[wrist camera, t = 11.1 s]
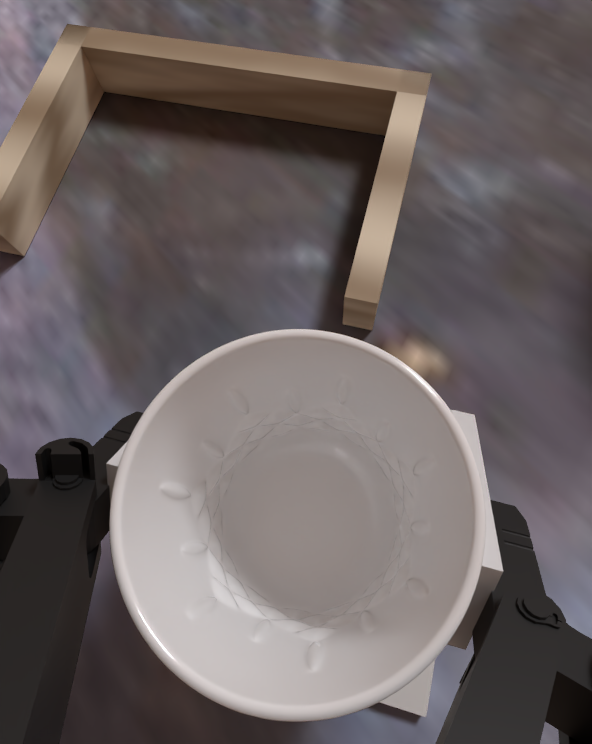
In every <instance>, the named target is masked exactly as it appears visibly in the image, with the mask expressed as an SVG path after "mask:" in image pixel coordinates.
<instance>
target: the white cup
mask: <svg viewBox="0 0 592 744" xmlns="http://www.w3.org/2000/svg"><path fill="white" fill-rule="evenodd" d="M109 533H110V547H111V555H112V562H113V567H114V572H115V576H116V580H117V583H118V586H119V590H120V592H121V595H122V598H123V601H124V603H125V606H126V608H127V610H128V612H129V614H130V616H131V618H132V620H133V622H134V624H135V626H136V627H137V629H138V631H139V632H140V634H141V636H142V637H143V639H144V640H145V642H146V643H147V644H148V646H149V647H150V648H151V650H152V651H153V652H154V653H155V655H156V656H157V657H158V658H159V659H160V660H161V661H162V663H163V664H164V665H165V666H166V667H167V668H168V669H169V670H170V671H171V672H172V673H174V674H175V675H176V676H177V677H178V678H179V679H180V680H182V681H183V682H184V683H185V684H187V685H188V686H189V687H191V688H192V689H194V690H195V691H197V692H198V693H200V694H201V695H203V696H205V697H206V698H208V699H210V700H212V701H214V702H216V703H218V704H220V705H222V706H224V707H227V708H229V709H232V710H234V711H237V712H240V713H243V714H246V715H250V716H254V717H258V718H263V719H269V720H276V721H288V722H306V721H318V720H325V719H331V718H336V717H340V716H344V715H348V714H351V713H354V712H357V711H360V710H363V709H365V708H367V707H370V706H372V705H374V704H376V703H378V702H380V701H382V700H384V699H386V698H388V697H389V696H391V695H393V694H394V693H396V692H397V691H399V690H400V689H402V688H403V687H405V686H406V685H407V684H409V683H410V682H411V681H413V680H414V679H415V678H416V677H417V676H418V675H420V674H421V673H422V672H423V671H424V670H425V669H426V668H427V667H428V666H429V665H430V664H431V663H432V662H433V661H434V660H435V659H436V657H437V656H438V655H439V654H440V653H441V651H442V650H443V649H444V648H445V646H446V645H447V644H448V642H449V641H450V639H451V638H452V636H453V635H454V633H455V632H456V630H457V628H458V627H459V625H460V623H461V621H462V619H463V618H464V616H465V613H466V611H467V609H468V607H469V605H470V602H471V600H472V597H473V595H474V592H475V589H476V586H477V583H478V579H479V575H480V571H481V567H482V562H483V556H484V548H485V536H486V514H485V502H484V494H483V488H482V483H481V479H480V475H479V471H478V467H477V464H476V461H475V458H474V455H473V452H472V450H471V447H470V445H469V443H468V441H467V438H466V436H465V434H464V432H463V430H462V428H461V427H460V425H459V423H458V421H457V420H456V418H455V417H454V415H453V413H452V412H451V410H450V409H449V408H448V406H447V405H446V404H445V402H444V401H443V400H442V398H441V397H440V396H439V395H438V394H437V393H436V391H435V390H434V389H433V388H432V387H431V386H430V385H429V384H428V383H427V382H426V381H425V380H424V379H423V378H422V377H421V376H420V375H418V374H417V373H416V372H415V371H414V370H412V369H411V368H410V367H409V366H407V365H406V364H404V363H403V362H402V361H400V360H399V359H397V358H396V357H394V356H392V355H391V354H389V353H387V352H385V351H383V350H382V349H380V348H378V347H375V346H373V345H371V344H369V343H366V342H364V341H361V340H358V339H355V338H352V337H349V336H345V335H342V334H337V333H333V332H327V331H320V330H309V329H287V330H276V331H269V332H264V333H259V334H255V335H251V336H247V337H244V338H241V339H238V340H235V341H233V342H230V343H228V344H225V345H223V346H221V347H219V348H217V349H215V350H213V351H211V352H209V353H207V354H206V355H204V356H202V357H201V358H199V359H198V360H196V361H195V362H193V363H192V364H190V365H189V366H188V367H186V368H185V369H184V370H183V371H181V372H180V373H179V374H178V375H177V376H175V377H174V378H173V379H172V380H171V381H170V382H169V383H168V384H167V385H166V386H165V387H164V388H163V389H162V390H161V391H160V393H159V394H158V395H157V396H156V397H155V398H154V400H153V401H152V402H151V403H150V405H149V406H148V408H147V409H146V410H145V412H144V413H143V415H142V416H141V418H140V419H139V421H138V423H137V425H136V426H135V428H134V430H133V432H132V434H131V436H130V438H129V440H128V442H127V444H126V447H125V449H124V452H123V454H122V457H121V460H120V463H119V466H118V469H117V473H116V477H115V481H114V485H113V491H112V497H111V505H110V519H109Z"/></svg>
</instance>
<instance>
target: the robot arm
mask: <svg viewBox="0 0 592 744" xmlns="http://www.w3.org/2000/svg"><path fill="white" fill-rule="evenodd" d="M451 412H452V413H453V415H454V417H455V418H456V420H457V421H458V423H459V425H460V427H461V428H462V430H463V432H464V434H465V436H466V438H467V441H468V443H469V445H470V447H471V450H472V452H473V455H474V458H475V461H476V464H477V467H478V471H479V475H480V479H481V483H482V488H483V494H484V502H485V514H486V536H485V548H484V556H483V562H482V567H481V571H480V575H479V579H478V583H477V586H476V589H475V592H474V595H473V597H472V600H471V602H470V605H469V607H468V609H467V611H466V613H465V616H464V618H463V619H462V621H461V623H460V625H459V627H458V628H457V630H456V632H455V633H454V635H453V636H452V638H451V639H450V641H449V642H448V645H451V646H455V647H458V648H461V649H465V650H466V648H467V646H468V644H469V642H470V639H471V637H472V635H473V644H474V655H473V657H472V659H471V661H470V663H469V665H468V667H467V669H466V671H465V673H464V675H463V677H462V679H461V681H460V683H461V684H460V686H459V689H458V691H457V694H456V696H455V698H454V701H453V703H452V706H451V708H450V710H449V713H448V715H447V718H446V720H445V722H444V725H443V727H442V730H441V732H440V734H439V737H438V739H437V742H436V744H540V740H541V735H542V731H543V727H544V723H545V721H546V722H547V723H549V724H550V725H552V726H554V727H555V728H557V729H558V731H559V744H592V639H591V638H589V637H587V636H585V635H583V634H582V633H580V632H578V631H577V630H575V629H574V628H572V627H571V626H569V625H568V624H567V623H566V619H565V617H564V615H563V613H562V611H561V609H560V608H559V607H558V606H557V605H556V604H555V603H554V602H553V600H552V599H550V598H549V597H548V596H546V593H545V590H544V586H543V582H542V578H541V575H540V571H539V567H538V563H537V560H536V556H535V552H534V551H533V545H532V541H531V539H530V533H529V530H528V526H527V522H526V520H525V519H524V517H523V516H522V515H521V513H520V512H519V511H518V509H517V508H516V507H515V506H512V505H508V504H504V503H500V502H496V501H492V500H490V496H489V491H488V485H487V480H486V474H485V469H484V464H483V458H482V453H481V447H480V442H479V436H478V431H477V425H476V420H475V415H472V414H468V413H464V412H459V411H455V410H451ZM142 415H143V413H141V412H135V413H133V414H131V415H129V416H126V417H124V418H122V419H121V420H120V421H119V422H118V423H117V424H116V425H115V426H114V427H113V428H112V430H110V431H108V432H107V433H106V434H105V435H104V437H103V438H101V439H100V440H99V441H98V442H97V443H96V444H95V445H94V446H93V447H92V445H91V444H90V443H89V442H87V441H84V440H82V439H76V438H65V439H58V440H55V441H52V442H49V443H47V444H46V445H44V446H42V447H41V448H40V449H39V450H38V451H37V453H36V454H35V456H36V463H37V470H38V476H39V479H9V478H8V473H7V469H6V468H5V467H4V466H3V465H1V464H0V744H59V742H60V737H61V733H62V728H63V723H64V719H65V714H66V710H67V705H68V701H69V696H70V692H71V687H72V683H73V678H74V674H75V669H76V665H77V660H78V656H79V651H80V646H81V642H82V637H83V633H84V628H85V624H86V619H87V615H88V610H89V606H90V601H91V597H92V592H93V588H94V583H95V579H96V574H97V569H98V565H99V560H100V556H101V540H102V539H103V538H104V536H105V535H106V534H107V533H108V531H109V519H110V505H111V497H112V491H113V485H114V481H115V477H116V473H117V469H118V466H119V463H120V460H121V457H122V454H123V452H124V449H125V447H126V444H127V442H128V440H129V438H130V436H131V434H132V432H133V430H134V428H135V426H136V425H137V423H138V421H139V419H140V418H141V416H142Z"/></svg>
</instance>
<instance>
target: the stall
mask: <svg viewBox="0 0 592 744" xmlns="http://www.w3.org/2000/svg"><path fill="white" fill-rule="evenodd" d="M430 78H431V74H430V73H423V72H415V71H408V70H401V69H394V68H386V67H379V66H372V65H364V64H357V63H350V62H342V61H335V60H328V59H320V58H313V57H306V56H298V55H291V54H284V53H276V52H269V51H262V50H254V49H247V48H240V47H232V46H225V45H218V44H210V43H203V42H196V41H189V40H181V39H174V38H167V37H159V36H152V35H145V34H137V33H130V32H123V31H115V30H108V29H101V28H93V27H86V26H79V25H71V24H67V25H66V27H65V29H64V31H63V33H62V35H61V37H60V38H59V40H58V42H57V44H56V46H55V48H54V49H53V51H52V53H51V55H50V57H49V59H48V61H47V62H46V64H45V66H44V68H43V70H42V72H41V74H40V75H39V77H38V79H37V81H36V83H35V85H34V86H33V88H32V90H31V92H30V94H29V96H28V98H27V99H26V101H25V103H24V105H23V107H22V109H21V110H20V112H19V114H18V116H17V118H16V120H15V122H14V123H13V125H12V127H11V129H10V131H9V133H8V135H7V136H6V138H5V140H4V142H3V144H2V146H1V147H0V251H2V252H7V253H11V254H16V255H21V256H25V254H26V252H27V250H28V248H29V246H30V244H31V242H32V240H33V238H34V235H35V233H36V231H37V229H38V227H39V225H40V223H41V221H42V219H43V217H44V215H45V213H46V211H47V209H48V207H49V204H50V202H51V200H52V198H53V196H54V194H55V192H56V190H57V188H58V186H59V184H60V182H61V180H62V178H63V176H64V173H65V171H66V169H67V167H68V165H69V163H70V161H71V159H72V157H73V155H74V153H75V151H76V149H77V147H78V145H79V142H80V140H81V138H82V136H83V134H84V132H85V130H86V128H87V126H88V124H89V122H90V120H91V118H92V116H93V114H94V111H95V109H96V107H97V105H98V103H99V101H100V99H101V97H102V95H103V93H104V92H109V93H116V94H122V95H128V96H135V97H141V98H148V99H154V100H160V101H167V102H173V103H180V104H186V105H192V106H199V107H205V108H212V109H218V110H224V111H231V112H237V113H244V114H250V115H256V116H263V117H269V118H276V119H282V120H288V121H295V122H301V123H308V124H314V125H320V126H327V127H333V128H340V129H346V130H352V131H359V132H365V133H371V134H378V135H384V136H386V137H385V140H384V144H383V148H382V152H381V156H380V160H379V164H378V168H377V172H376V175H375V179H374V183H373V187H372V191H371V195H370V199H369V203H368V207H367V210H366V214H365V218H364V222H363V226H362V230H361V234H360V238H359V242H358V245H357V249H356V253H355V257H354V261H353V265H352V269H351V273H350V277H349V280H348V284H347V288H346V292H345V296H344V310H343V324H344V325H349V326H354V327H358V328H363V329H368V330H372V329H373V324H374V320H375V316H376V312H377V307H378V303H379V299H380V294H381V290H382V286H383V282H384V277H385V273H386V269H387V264H388V260H389V256H390V252H391V247H392V243H393V239H394V234H395V230H396V226H397V222H398V217H399V213H400V209H401V204H402V200H403V196H404V192H405V187H406V183H407V179H408V174H409V170H410V166H411V162H412V157H413V153H414V149H415V144H416V140H417V136H418V132H419V127H420V123H421V119H422V114H423V110H424V105H425V101H426V96H427V92H428V87H429V83H430Z"/></svg>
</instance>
